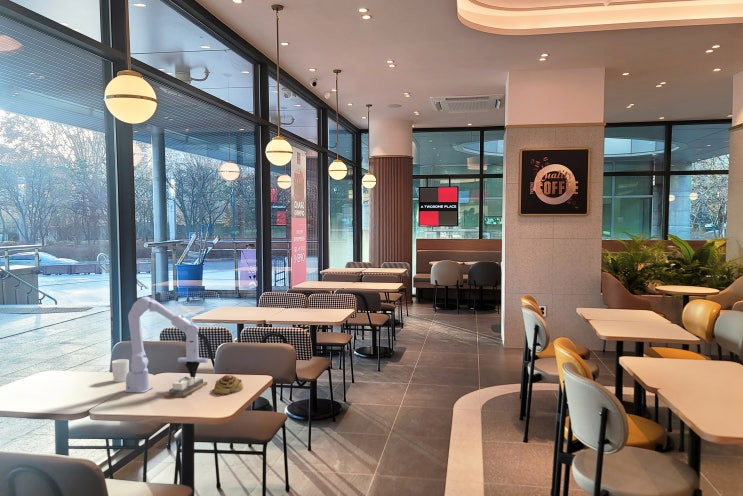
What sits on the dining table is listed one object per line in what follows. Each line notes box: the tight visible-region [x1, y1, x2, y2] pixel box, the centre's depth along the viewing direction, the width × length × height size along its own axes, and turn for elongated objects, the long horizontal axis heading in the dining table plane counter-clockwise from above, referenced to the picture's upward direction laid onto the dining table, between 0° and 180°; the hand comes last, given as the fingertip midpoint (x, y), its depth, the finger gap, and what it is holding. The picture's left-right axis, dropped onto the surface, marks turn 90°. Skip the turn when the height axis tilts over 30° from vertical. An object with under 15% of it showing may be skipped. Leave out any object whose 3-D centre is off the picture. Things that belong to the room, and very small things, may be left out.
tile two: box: [179, 376, 194, 386], centre depth 249 cm, size 5×5×3 cm
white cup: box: [111, 358, 130, 383], centre depth 267 cm, size 8×8×10 cm
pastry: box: [213, 374, 244, 396], centre depth 249 cm, size 13×15×8 cm
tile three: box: [194, 376, 201, 383], centre depth 255 cm, size 5×5×3 cm
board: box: [164, 378, 208, 399], centre depth 249 cm, size 10×21×3 cm, turn 170°
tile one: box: [172, 380, 187, 390], centre depth 243 cm, size 5×5×3 cm
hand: (193, 377), depth 255 cm, fingers closed, pressing on tile three
